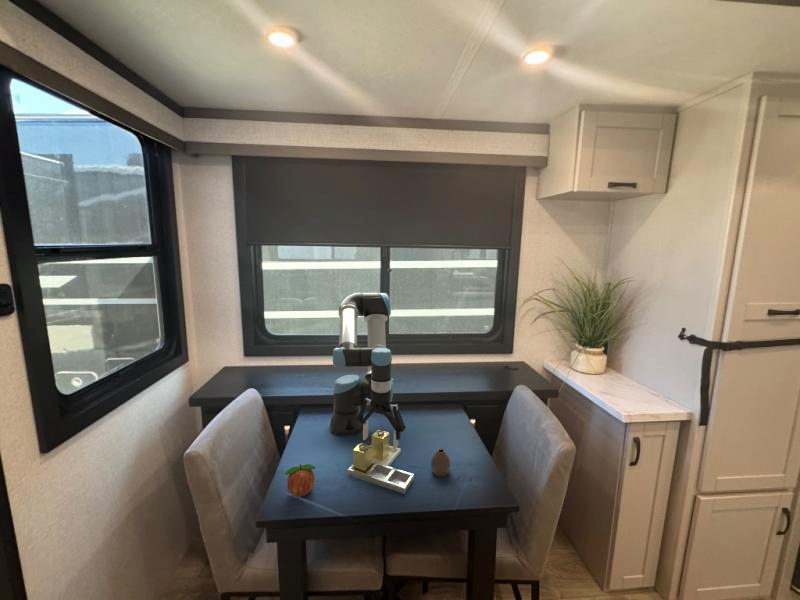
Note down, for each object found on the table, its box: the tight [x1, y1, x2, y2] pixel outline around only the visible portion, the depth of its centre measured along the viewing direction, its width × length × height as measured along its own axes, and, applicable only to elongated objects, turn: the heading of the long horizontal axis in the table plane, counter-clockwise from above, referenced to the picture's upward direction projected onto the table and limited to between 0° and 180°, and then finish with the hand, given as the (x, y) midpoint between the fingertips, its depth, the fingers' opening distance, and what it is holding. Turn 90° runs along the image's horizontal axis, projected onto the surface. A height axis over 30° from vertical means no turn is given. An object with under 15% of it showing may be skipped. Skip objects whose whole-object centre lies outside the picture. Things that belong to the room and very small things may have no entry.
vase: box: [430, 448, 451, 477], centre depth 123 cm, size 7×7×9 cm
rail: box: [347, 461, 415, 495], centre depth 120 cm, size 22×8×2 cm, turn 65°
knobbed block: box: [371, 429, 390, 461], centre depth 132 cm, size 5×5×10 cm
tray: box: [369, 443, 402, 467], centre depth 133 cm, size 12×12×2 cm
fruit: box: [284, 464, 316, 498], centre depth 112 cm, size 9×10×10 cm
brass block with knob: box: [352, 442, 373, 473], centre depth 123 cm, size 5×5×10 cm
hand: (380, 442), depth 132 cm, fingers open, 12 cm apart
